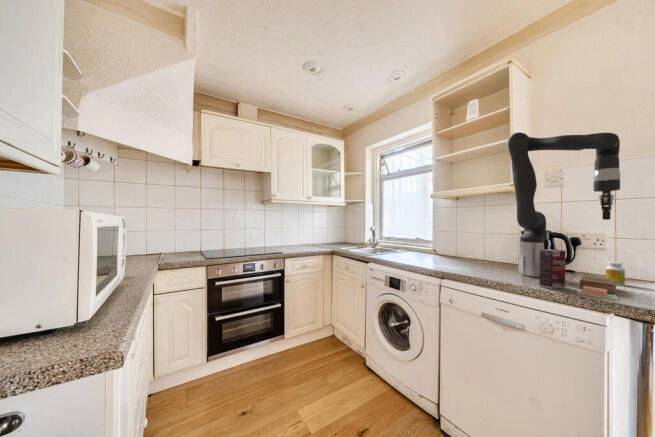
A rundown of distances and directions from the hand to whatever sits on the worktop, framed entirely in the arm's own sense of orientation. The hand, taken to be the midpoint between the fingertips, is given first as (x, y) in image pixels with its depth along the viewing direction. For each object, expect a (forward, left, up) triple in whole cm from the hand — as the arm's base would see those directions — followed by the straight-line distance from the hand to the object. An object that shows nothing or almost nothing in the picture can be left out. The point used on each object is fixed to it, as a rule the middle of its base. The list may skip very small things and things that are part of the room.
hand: (606, 219), depth 103 cm
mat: (-13, -18, -29) cm, 37 cm away
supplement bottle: (+6, +6, -29) cm, 30 cm away
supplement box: (-23, -12, -29) cm, 39 cm away
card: (-13, -19, -27) cm, 35 cm away
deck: (-7, -9, -29) cm, 31 cm away
